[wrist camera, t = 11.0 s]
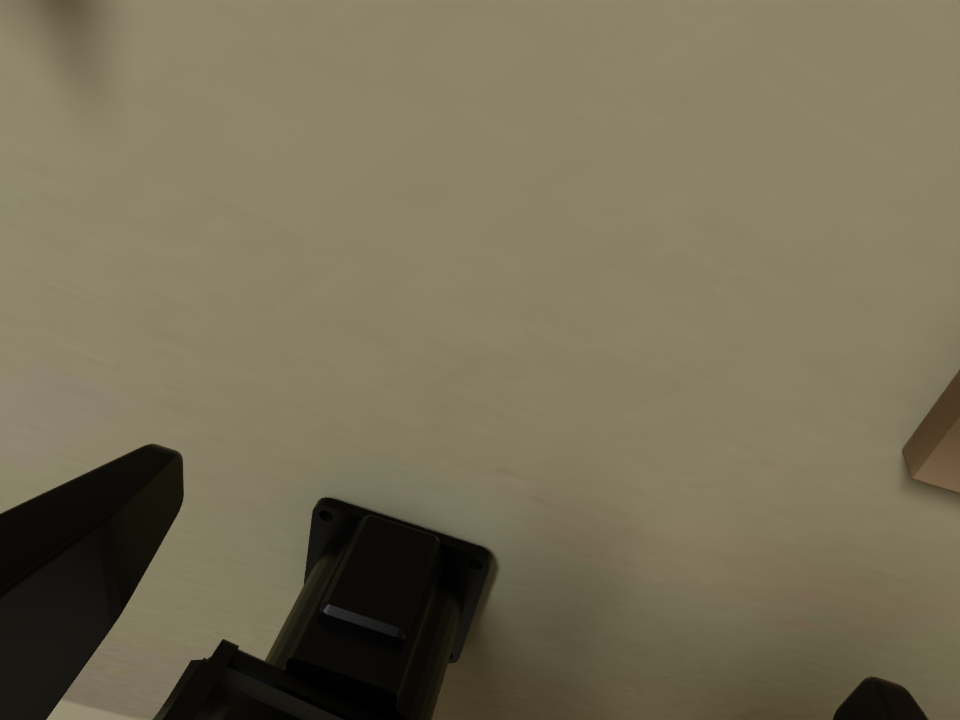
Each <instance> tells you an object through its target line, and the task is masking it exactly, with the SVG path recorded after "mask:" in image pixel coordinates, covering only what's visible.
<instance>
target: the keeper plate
mask: <svg viewBox="0 0 960 720" xmlns="http://www.w3.org/2000/svg"><path fill="white" fill-rule="evenodd" d="M902 450H903V453H904V456H905V458H906V461H907V464H908V467H909V469H910V472H911V475H912V478H913V479H916V480H920V481H923V482H926V483H930V484H933V485H936V486H939V487H943V488H946V489H949V490H952V491H956V492H959V493H960V370H959V372H958V373H957V375H956V376H955V377H954V379H953V380H952V381H951V383H950V384H949V386H948V387H947V388H946V390H945V391H944V393H943V394H942V395H941V397H940V398H939V400H938V401H937V402H936V404H935V405H934V406H933V408H932V409H931V411H930V412H929V413H928V415H927V416H926V418H925V419H924V420H923V422H922V423H921V424H920V426H919V427H918V429H917V430H916V431H915V433H914V434H913V436H912V437H911V438H910V440H909V441H908V442H907V444H906V445H905V447H904V448H903V449H902Z"/></svg>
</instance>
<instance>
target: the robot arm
mask: <svg viewBox="0 0 960 720" xmlns="http://www.w3.org/2000/svg"><path fill="white" fill-rule="evenodd" d="M183 496H184V487H183V459H182V456H181V454H180V453H179V452H178V451H175V450H172V449H169V448H166V447H163V446H160V445H157V444H149V445H145V446H143V447H140V448H138V449H136V450H134V451H132V452H130V453H128V454H126V455H123V456H121V457H119V458H117V459H115V460H113V461H111V462H109V463H107V464H104V465H102V466H100V467H98V468H96V469H94V470H92V471H90V472H87V473H85V474H83V475H81V476H79V477H77V478H75V479H73V480H71V481H68V482H66V483H64V484H62V485H60V486H58V487H56V488H54V489H52V490H49V491H47V492H45V493H43V494H41V495H39V496H37V497H35V498H32V499H30V500H28V501H26V502H24V503H22V504H20V505H18V506H16V507H13V508H11V509H9V510H7V511H5V512H3V513H1V514H0V720H46V719H47V718H48V716H49V715H50V713H51V712H52V711H53V709H54V708H55V706H56V705H57V704H58V702H59V701H60V699H61V698H62V697H63V695H64V694H65V692H66V691H67V690H68V688H69V687H70V685H71V684H72V683H73V681H74V680H75V678H76V677H77V676H78V674H79V673H80V672H81V670H82V669H83V667H84V666H85V665H86V663H87V662H88V660H89V659H90V658H91V656H92V655H93V653H94V652H95V651H96V649H97V648H98V646H99V645H100V644H101V642H102V641H103V639H104V638H105V637H106V635H107V634H108V632H109V631H110V630H111V628H112V627H113V625H114V624H115V622H116V621H117V619H118V618H119V616H120V615H121V613H122V612H123V610H124V608H125V606H126V605H127V603H128V601H129V600H130V598H131V596H132V595H133V593H134V591H135V589H136V587H137V586H138V584H139V582H140V580H141V579H142V577H143V575H144V573H145V571H146V570H147V568H148V566H149V564H150V563H151V561H152V559H153V557H154V555H155V554H156V552H157V550H158V548H159V546H160V545H161V543H162V541H163V539H164V538H165V536H166V534H167V532H168V530H169V529H170V527H171V525H172V523H173V522H174V520H175V518H176V516H177V514H178V512H179V510H180V508H181V505H182V502H183ZM327 511H328V512H327ZM329 512H330V513H329ZM491 558H492V556H491V554H490V552H488V551H487V550H486V549H485V548H482V547H480V546H477V545H474V544H471V543H468V542H465V541H462V540H459V539H455V538H452V537H449V536H446V535H443V534H440V533H437V532H434V531H431V530H428V529H425V528H421V527H418V526H415V525H412V524H409V523H406V522H403V521H400V520H397V519H394V518H391V517H388V516H384V515H381V514H378V513H375V512H372V511H369V510H366V509H363V508H360V507H357V506H354V505H350V504H347V503H344V502H341V501H338V500H335V499H332V498H321V499H320V500H318V502H317V504H316V506H315V508H314V510H313V513H312V521H311V529H310V537H309V546H308V554H307V562H306V571H305V579H304V586H303V588H302V590H301V592H300V594H299V596H298V598H297V600H296V602H295V604H294V606H293V608H292V609H291V611H290V613H289V615H288V617H287V619H286V621H285V623H284V625H283V627H282V629H281V631H280V633H279V634H278V636H277V638H276V640H275V642H274V644H273V646H272V648H271V650H270V652H269V654H268V656H267V657H266V659H265V661H263V660H261V659H259V658H256V657H254V656H252V655H250V654H248V653H245V652H243V651H241V650H239V649H238V648H239V646H238V645H236V644H233V643H231V642H229V641H227V640H225V639H223V640H222V641H221V643H220V644H219V646H218V647H217V649H216V650H215V652H214V653H213V655H212V656H211V657H209V659H205V658H203V660H191V661H190V663H189V665H188V666H187V668H186V670H185V671H184V673H183V675H182V676H181V678H180V679H179V681H178V683H177V684H176V686H175V688H174V689H173V691H172V692H171V694H170V696H169V697H168V699H167V700H166V702H165V703H164V705H163V706H162V708H161V709H160V711H159V712H158V713H157V715H156V716H155V717H154V718H153V720H431V719H432V716H433V713H434V709H435V706H436V702H437V699H438V696H439V692H440V689H441V685H442V682H443V679H444V675H445V672H446V668H447V665H448V663H455V662H457V661H458V659H459V657H460V654H461V651H462V648H463V645H464V642H465V639H466V636H467V633H468V630H469V627H470V624H471V621H472V618H473V615H474V612H475V609H476V606H477V603H478V600H479V597H480V594H481V591H482V588H483V585H484V583H485V580H486V577H487V574H488V571H489V567H490V564H491ZM474 559H475V560H474ZM476 560H478V561H476ZM833 720H929V719H928V718H927V717H926V715H925V714H924V712H923V711H922V710H921V708H920V707H919V705H918V704H917V703H916V701H915V700H914V698H913V697H912V696H911V694H910V693H909V692H908V691H907V690H906V689H905V688H904V687H902V686H901V685H898V684H896V683H893V682H889V681H886V680H883V679H880V678H877V677H872V676H871V677H868V678H865V679H864V680H863V681H862V682H861V683H860V684H859V685H858V686H857V687H856V689H855V690H854V691H853V692H852V693H851V694H850V695H849V696H848V698H847V699H846V700H845V701H844V702H843V703H842V704H841V705H840V706H839V708H838V709H837V711H836V713H835V715H834V718H833Z"/></svg>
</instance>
